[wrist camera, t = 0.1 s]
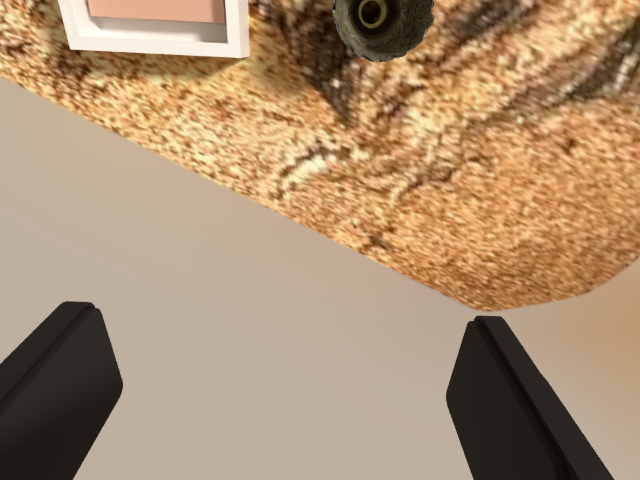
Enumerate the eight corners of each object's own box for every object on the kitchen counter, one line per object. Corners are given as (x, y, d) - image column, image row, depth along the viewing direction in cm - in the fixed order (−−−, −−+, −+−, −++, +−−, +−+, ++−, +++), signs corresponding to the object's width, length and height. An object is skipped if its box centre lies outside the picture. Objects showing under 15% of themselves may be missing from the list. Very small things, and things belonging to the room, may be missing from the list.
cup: (403, 62, 34) (425, 67, 27) (326, 55, 34) (328, 57, 27) (420, -35, 31) (450, -59, 24) (334, -44, 30) (339, -71, 23)
